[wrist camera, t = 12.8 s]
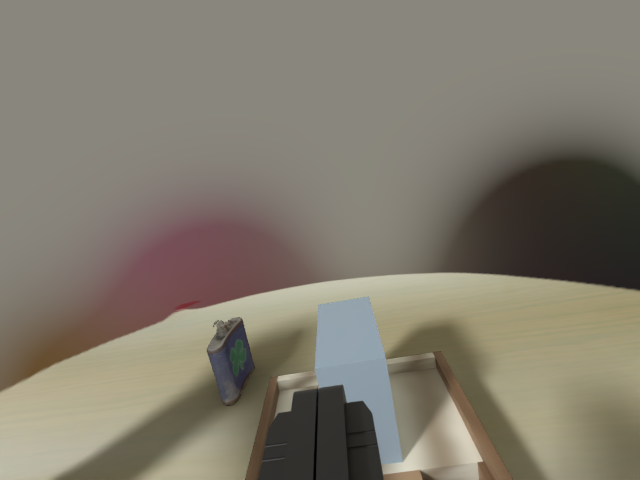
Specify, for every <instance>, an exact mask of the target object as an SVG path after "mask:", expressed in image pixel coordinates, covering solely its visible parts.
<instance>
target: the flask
mask: <svg viewBox="0 0 640 480" xmlns="http://www.w3.org/2000/svg"><path fill="white" fill-rule="evenodd" d="M218 321H219V320H217V321H216V322H214V325H216V324H217V322H218ZM214 325H213V327H214ZM207 353H208V356H209V359H210V362H211V365H212V369H213V372H214V375H215V378H216V381H217V385H218V388H219V392H220V395H221V399H222V401H223V403H224V404H225V403H226V404H225V405H227V404H228V405H229V404H230V405H233V404H234V403H235V402H236V401H237V400H238V399H239V398H240V396H241V395H240V393H241V392H242V390H243V389H244V388H245V386H246V384H247V379H249V376H250V374H251V373H252V372H253V370H254V369H255V366H254V363H253V360H252V356H251V352H250V347H249V344H248V340H247V336H246V332H245V328H244V324H243V321H242V319H241V318H240V317H238V318H232V319H230V320H228V321H227V322H225V323H224V322H223V321H222V320H221V321H220V322H219V323H218V324H217V333H216V334H215V336H214V337H213V339H212V340H211V342H210V344H209V345H208V348H207Z"/></svg>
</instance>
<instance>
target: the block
mask: <svg viewBox="0 0 640 480" xmlns="http://www.w3.org/2000/svg"><path fill="white" fill-rule="evenodd" d="M315 372H316V377H317V381H318V385H319V388H322V387H329V386H335V385H342V384H343V386H344V391H345V396H346V401H347V403H349V402H356V401H363V402H364V403H365V404H366V406H367V407H368V408H369V410H370V411H371V412H372V415H373V420H374V426H375V431H376V437H377V442H378V448H379V453H380V459H381V465H384V464H392V463H400V462H403V460H402V453H401V447H400V441H399V435H398V429H397V423H396V417H395V411H394V405H393V398H392V392H391V386H390V380H389V374H388V368H387V362H386V357H385V353H384V349H383V346H382V342H381V339H380V335H379V331H378V328H377V324H376V321H375V317H374V314H373V310H372V306H371V303H370V299H369V297H363V298H357V299H351V300H345V301H339V302H333V303H327V304H321V305H319V306H318V322H317V339H316V356H315Z"/></svg>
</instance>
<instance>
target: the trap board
mask: <svg viewBox="0 0 640 480" xmlns="http://www.w3.org/2000/svg"><path fill="white" fill-rule="evenodd" d="M386 362H387V368H388V374H389V380H390V386H391V392H392V398H393V405H394V411H395V417H396V423H397V429H398V435H399V441H400V447H401V453H402V460H403V462H400V463H392V464H384V465H382V470H383V476H384V480H513V479H512V477H511V476H510V474H509V472H508V470H507V469H506V467H505V465H504V463H503V461H502V460H501V458H500V456H499V454H498V453H497V451H496V449H495V447H494V445H493V444H492V442H491V440H490V438H489V437H488V435H487V433H486V431H485V429H484V428H483V426H482V424H481V422H480V421H479V419H478V417H477V415H476V413H475V412H474V410H473V408H472V406H471V405H470V403H469V401H468V399H467V397H466V396H465V394H464V392H463V390H462V389H461V387H460V385H459V383H458V381H457V380H456V378H455V376H454V374H453V373H452V371H451V369H450V367H449V365H448V364H447V362H446V360H445V358H444V357H443V355H442V353H441V351H438V352H432V353H425V354H419V355H412V356H406V357H399V358H393V359H386ZM316 388H318V389H319V385H318V381H317V377H316V372H315V371H308V372H302V373H295V374H289V375H282V376H276V377H271V378H270V382H269V386H268V390H267V394H266V398H265V402H264V406H263V410H262V414H261V418H260V422H259V426H258V430H257V434H256V438H255V442H254V446H253V450H252V454H251V458H250V462H249V466H248V470H247V474H246V478H245V480H258V477H259V472H260V467H261V463H262V458H263V453H264V449H265V443H266V438H267V433H268V428H269V427H270V425H271V424H272V422H273V420H274V419H275V417H276V416H277V414H278V413H282V412H288V411H291V406H292V399H293V393H294V392H296V391H303V390H309V389H316Z"/></svg>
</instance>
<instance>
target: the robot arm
mask: <svg viewBox="0 0 640 480" xmlns="http://www.w3.org/2000/svg"><path fill="white" fill-rule="evenodd" d="M258 480H384V476H383V470H382V465H381V459H380V453H379V448H378V442H377V437H376V431H375V426H374V420H373V415H372V412H371V411H370V410H369V408H368V407H367V406H366V404H365V403H364V402H363V401H356V402H349V403H347V401H346V396H345V391H344V386H343V384H342V385H335V386H329V387H322V388H319V389H318V388H316V389H309V390H303V391H296V392H294V393H293V399H292V406H291V411H288V412H282V413H278V414H277V416H276V417H275V419H274V420H273V422H272V424H271V425H270V427H269V428H268V433H267V438H266V443H265V449H264V453H263V458H262V463H261V467H260V472H259V477H258Z"/></svg>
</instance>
